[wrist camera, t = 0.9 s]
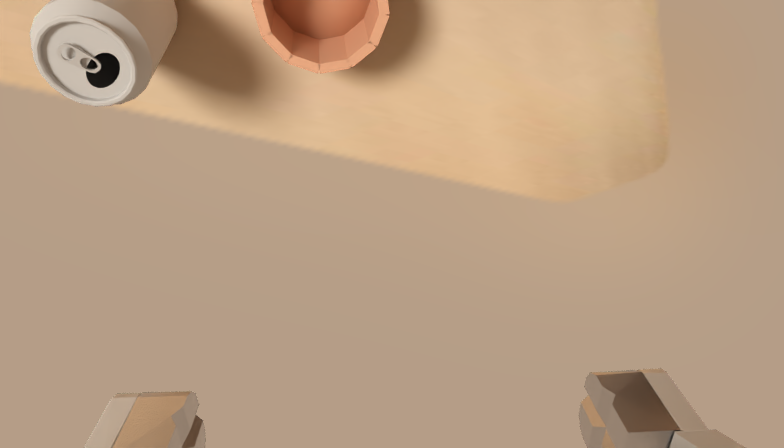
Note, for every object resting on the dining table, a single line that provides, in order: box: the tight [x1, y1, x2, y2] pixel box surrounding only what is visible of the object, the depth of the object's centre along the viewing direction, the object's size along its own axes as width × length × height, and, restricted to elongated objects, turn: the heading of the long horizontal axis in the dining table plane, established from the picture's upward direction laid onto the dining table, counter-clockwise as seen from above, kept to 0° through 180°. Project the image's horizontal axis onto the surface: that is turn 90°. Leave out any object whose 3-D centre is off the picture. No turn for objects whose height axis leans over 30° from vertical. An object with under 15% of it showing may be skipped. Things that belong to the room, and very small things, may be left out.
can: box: [30, 0, 178, 107], centre depth 39 cm, size 8×8×12 cm
